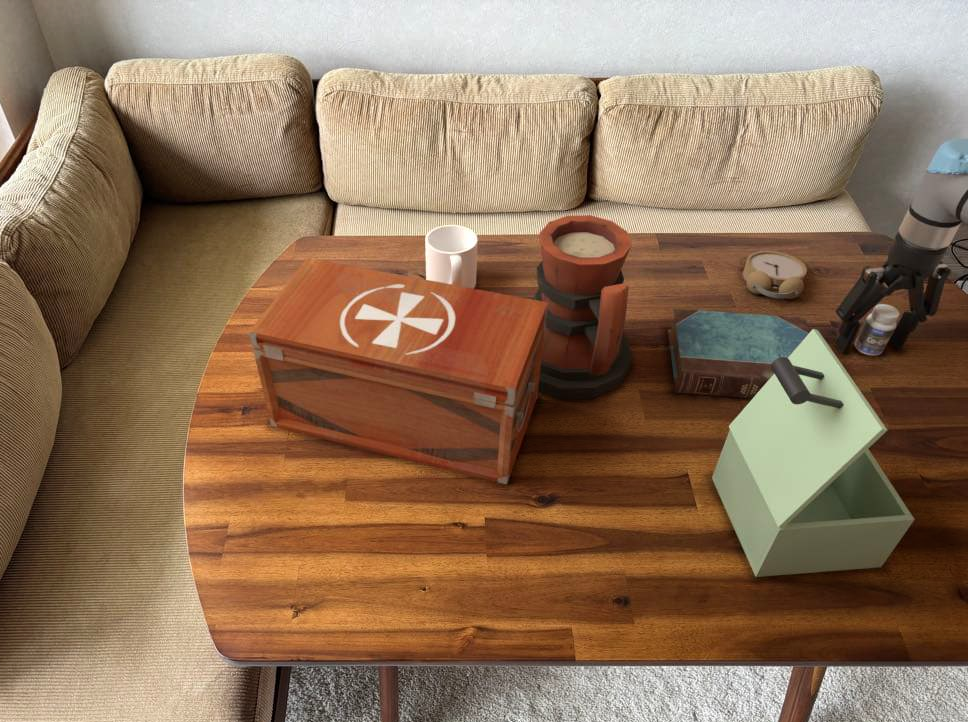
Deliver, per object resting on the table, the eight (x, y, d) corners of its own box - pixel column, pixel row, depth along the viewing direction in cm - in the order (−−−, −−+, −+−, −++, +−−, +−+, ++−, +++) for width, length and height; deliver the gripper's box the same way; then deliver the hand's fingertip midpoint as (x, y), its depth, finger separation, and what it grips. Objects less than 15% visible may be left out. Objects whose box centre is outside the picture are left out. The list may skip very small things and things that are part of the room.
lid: (818, 329, 97) (766, 316, 95) (887, 430, 85) (830, 417, 83) (732, 427, 109) (685, 417, 107) (783, 528, 97) (730, 519, 94)
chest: (824, 469, 118) (850, 420, 110) (881, 567, 105) (914, 519, 98) (711, 478, 117) (729, 429, 109) (755, 577, 105) (779, 529, 97)
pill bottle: (859, 356, 136) (878, 319, 130) (850, 339, 139) (867, 302, 134) (886, 356, 136) (906, 319, 130) (876, 339, 139) (895, 302, 133)
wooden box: (320, 348, 140) (306, 256, 126) (539, 396, 130) (550, 301, 116) (268, 425, 127) (246, 331, 113) (508, 485, 117) (517, 390, 103)
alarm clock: (805, 255, 154) (812, 286, 142) (797, 277, 156) (803, 310, 145) (746, 246, 156) (748, 276, 144) (740, 268, 159) (741, 300, 147)
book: (675, 394, 130) (682, 372, 127) (667, 329, 142) (673, 307, 139) (816, 406, 128) (827, 384, 124) (796, 338, 140) (805, 316, 136)
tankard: (599, 310, 147) (619, 194, 130) (660, 398, 130) (693, 277, 112) (490, 330, 143) (495, 214, 126) (537, 423, 126) (552, 303, 109)
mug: (423, 271, 157) (422, 227, 150) (471, 266, 158) (472, 222, 151) (431, 308, 148) (430, 263, 141) (482, 303, 149) (484, 258, 142)
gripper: (976, 221, 125) (916, 329, 141) (844, 229, 124) (799, 337, 140) (1004, 247, 120) (939, 356, 135) (867, 256, 119) (817, 364, 134)
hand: (868, 346), depth 138 cm, fingers open, 9 cm apart
